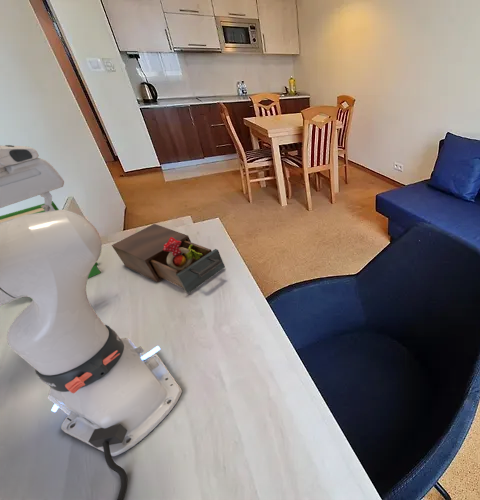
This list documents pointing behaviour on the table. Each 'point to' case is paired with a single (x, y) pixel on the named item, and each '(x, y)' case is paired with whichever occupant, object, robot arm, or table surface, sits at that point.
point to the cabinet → (145, 248)
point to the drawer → (189, 267)
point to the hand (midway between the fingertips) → (26, 221)
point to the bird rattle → (175, 258)
